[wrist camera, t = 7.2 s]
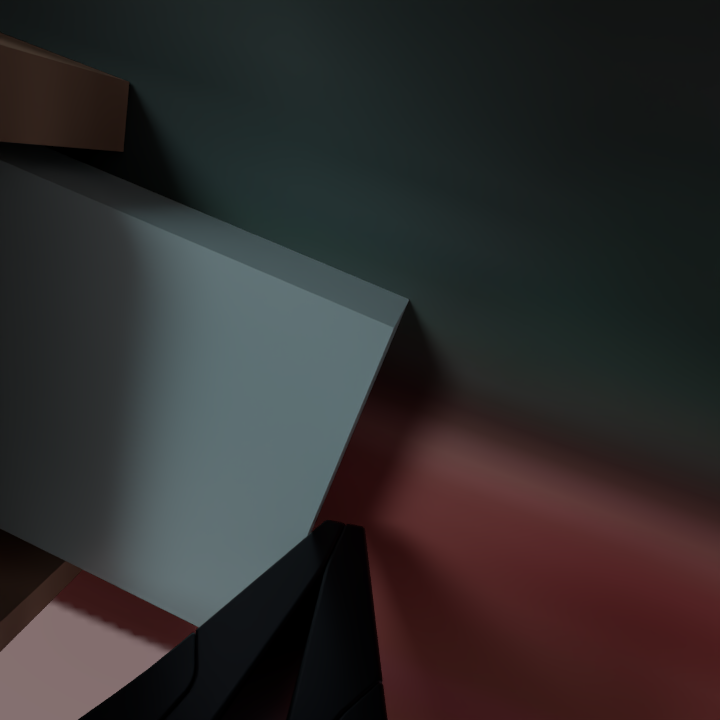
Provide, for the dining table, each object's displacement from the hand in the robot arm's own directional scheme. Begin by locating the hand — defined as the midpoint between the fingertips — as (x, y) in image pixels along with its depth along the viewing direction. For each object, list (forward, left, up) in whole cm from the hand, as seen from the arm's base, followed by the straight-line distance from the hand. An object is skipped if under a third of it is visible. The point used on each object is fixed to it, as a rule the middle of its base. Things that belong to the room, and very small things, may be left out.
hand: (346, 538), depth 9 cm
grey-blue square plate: (+4, -4, -2) cm, 6 cm away
